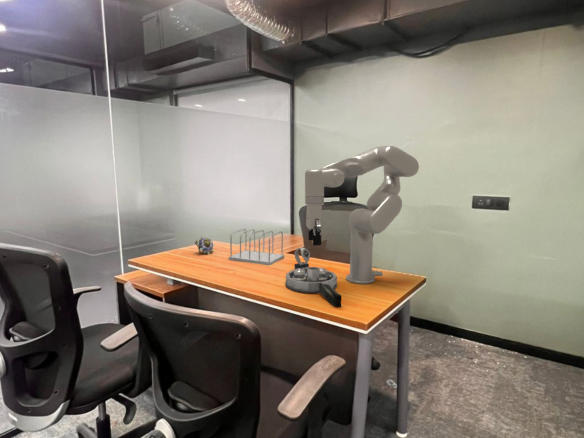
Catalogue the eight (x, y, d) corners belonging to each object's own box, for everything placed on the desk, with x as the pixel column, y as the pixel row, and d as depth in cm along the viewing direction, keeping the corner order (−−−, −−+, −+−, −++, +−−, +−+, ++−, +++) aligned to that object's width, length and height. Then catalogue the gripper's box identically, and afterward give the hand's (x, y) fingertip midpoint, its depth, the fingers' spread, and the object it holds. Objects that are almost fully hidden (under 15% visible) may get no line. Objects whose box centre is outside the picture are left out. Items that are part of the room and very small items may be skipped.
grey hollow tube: (319, 283, 144) (319, 266, 143) (321, 288, 139) (322, 270, 138) (304, 284, 144) (305, 266, 143) (307, 289, 138) (307, 270, 137)
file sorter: (228, 260, 187) (228, 231, 184) (245, 253, 202) (244, 227, 200) (270, 265, 177) (270, 235, 175) (284, 258, 193) (284, 230, 190)
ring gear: (330, 274, 158) (330, 267, 158) (341, 289, 137) (341, 282, 137) (284, 275, 156) (284, 268, 155) (288, 291, 135) (288, 283, 135)
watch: (304, 273, 164) (304, 250, 162) (291, 269, 169) (292, 247, 168) (311, 270, 168) (312, 248, 166) (299, 267, 173) (299, 245, 172)
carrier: (330, 276, 159) (330, 263, 158) (342, 292, 137) (342, 277, 136) (283, 277, 156) (283, 264, 155) (287, 294, 135) (288, 279, 134)
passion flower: (208, 263, 200) (201, 249, 192) (194, 257, 205) (187, 243, 197) (220, 249, 207) (214, 235, 199) (206, 244, 212) (200, 230, 204)
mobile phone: (343, 294, 122) (324, 280, 136) (335, 295, 121) (317, 281, 135) (342, 307, 123) (324, 292, 137) (335, 309, 122) (317, 293, 136)
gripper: (301, 198, 146) (302, 238, 149) (309, 202, 129) (309, 247, 132) (319, 198, 147) (319, 238, 150) (328, 202, 130) (328, 246, 133)
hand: (314, 242), depth 141 cm, fingers open, 9 cm apart
